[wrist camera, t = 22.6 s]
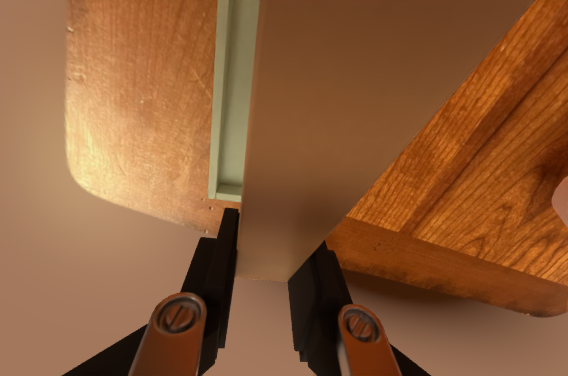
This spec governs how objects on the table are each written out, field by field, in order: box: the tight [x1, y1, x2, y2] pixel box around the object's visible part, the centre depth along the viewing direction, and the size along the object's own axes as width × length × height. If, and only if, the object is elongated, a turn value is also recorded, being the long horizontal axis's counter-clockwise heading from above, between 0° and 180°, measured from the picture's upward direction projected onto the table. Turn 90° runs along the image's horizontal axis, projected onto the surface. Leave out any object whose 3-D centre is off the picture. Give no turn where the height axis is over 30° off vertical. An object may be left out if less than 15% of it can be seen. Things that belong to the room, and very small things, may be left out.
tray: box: [208, 0, 260, 202], centre depth 15 cm, size 10×21×2 cm, turn 169°
